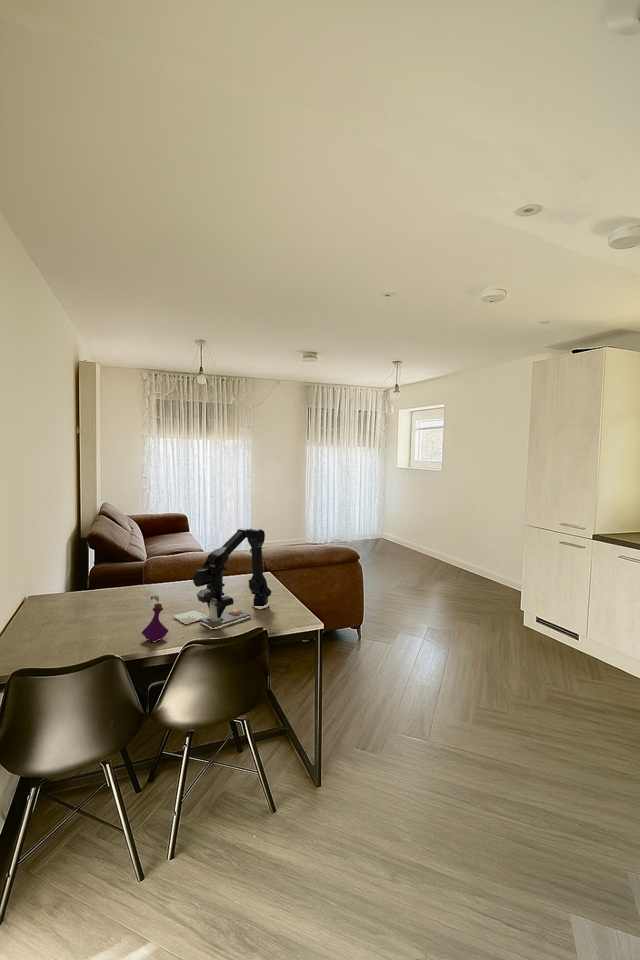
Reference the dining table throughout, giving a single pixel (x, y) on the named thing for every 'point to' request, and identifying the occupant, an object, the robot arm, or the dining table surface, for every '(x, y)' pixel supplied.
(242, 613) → the dark grey base plate
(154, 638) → the perfume bottle
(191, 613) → the sage pad
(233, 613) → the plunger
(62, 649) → the dining table surface
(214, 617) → the cylinder
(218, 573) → the robot arm
